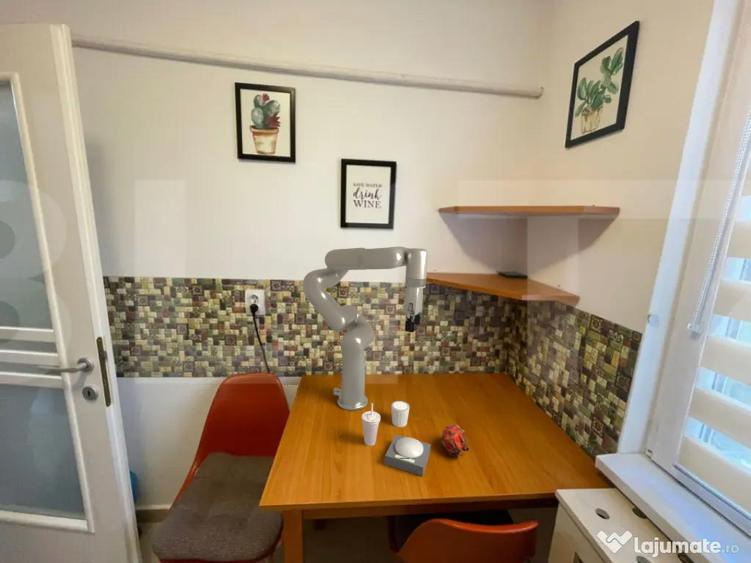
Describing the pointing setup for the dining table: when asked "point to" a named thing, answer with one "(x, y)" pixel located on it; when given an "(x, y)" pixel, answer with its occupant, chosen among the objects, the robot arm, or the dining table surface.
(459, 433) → the dragon fruit
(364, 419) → the smoothie
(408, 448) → the scale
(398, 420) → the white cup
